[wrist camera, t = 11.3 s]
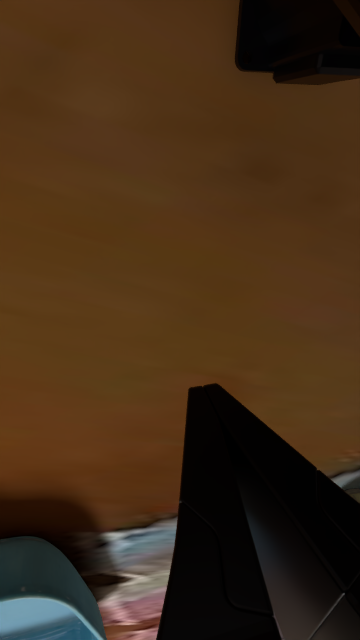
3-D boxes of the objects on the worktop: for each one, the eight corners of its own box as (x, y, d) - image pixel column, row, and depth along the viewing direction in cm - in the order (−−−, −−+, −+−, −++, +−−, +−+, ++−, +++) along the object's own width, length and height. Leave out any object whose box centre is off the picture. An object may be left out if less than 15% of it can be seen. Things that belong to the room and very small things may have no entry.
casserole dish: (119, 607, 53) (121, 668, 47) (-20, 646, 50) (-36, 717, 44) (59, 496, 32) (48, 579, 27) (-182, 552, 29) (-254, 660, 24)
